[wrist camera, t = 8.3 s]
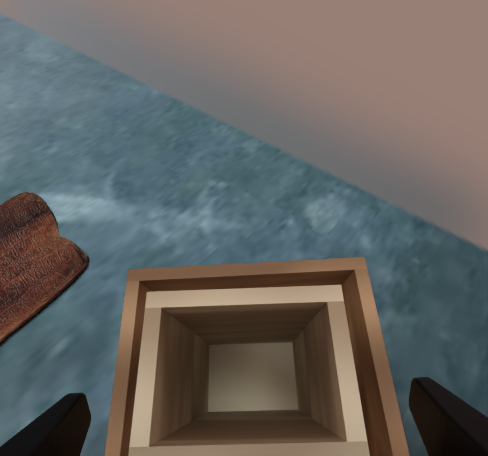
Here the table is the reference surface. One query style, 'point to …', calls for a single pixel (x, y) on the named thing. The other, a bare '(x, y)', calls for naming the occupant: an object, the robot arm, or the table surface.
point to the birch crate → (247, 375)
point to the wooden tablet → (32, 260)
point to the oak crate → (262, 276)
